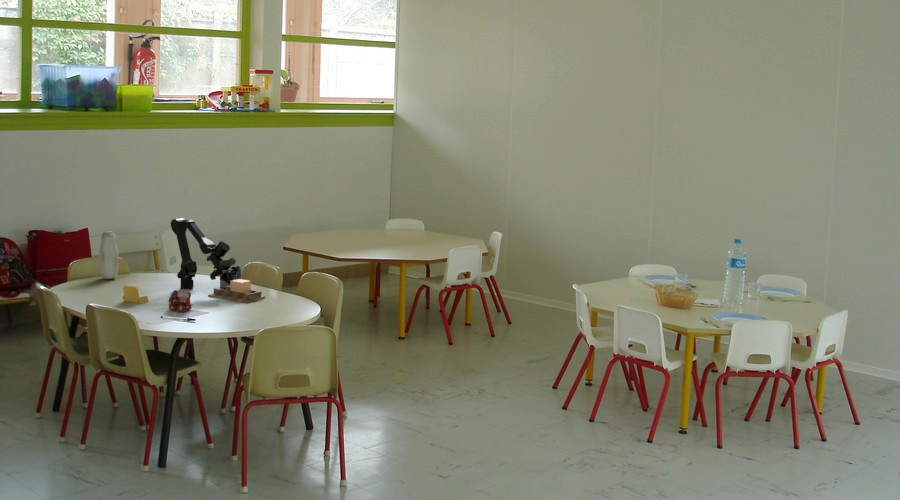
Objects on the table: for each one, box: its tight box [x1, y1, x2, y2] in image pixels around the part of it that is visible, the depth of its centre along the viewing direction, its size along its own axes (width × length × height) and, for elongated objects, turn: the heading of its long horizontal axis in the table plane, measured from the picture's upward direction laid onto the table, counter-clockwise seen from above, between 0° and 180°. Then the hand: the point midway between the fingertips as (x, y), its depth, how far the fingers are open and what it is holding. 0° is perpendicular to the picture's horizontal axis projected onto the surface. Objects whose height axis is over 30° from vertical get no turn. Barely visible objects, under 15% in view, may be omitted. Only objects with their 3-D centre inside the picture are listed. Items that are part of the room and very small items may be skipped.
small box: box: [219, 268, 242, 289], centre depth 555 cm, size 11×6×10 cm, turn 84°
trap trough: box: [207, 286, 266, 304], centre depth 531 cm, size 26×16×4 cm, turn 60°
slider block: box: [230, 278, 252, 294], centre depth 529 cm, size 8×7×8 cm
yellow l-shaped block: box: [122, 285, 150, 304], centre depth 512 cm, size 10×10×9 cm
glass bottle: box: [98, 230, 120, 280], centre depth 567 cm, size 10×10×28 cm
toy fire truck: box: [168, 289, 193, 314], centre depth 495 cm, size 7×12×10 cm, turn 69°
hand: (233, 284), depth 531 cm, fingers closed
